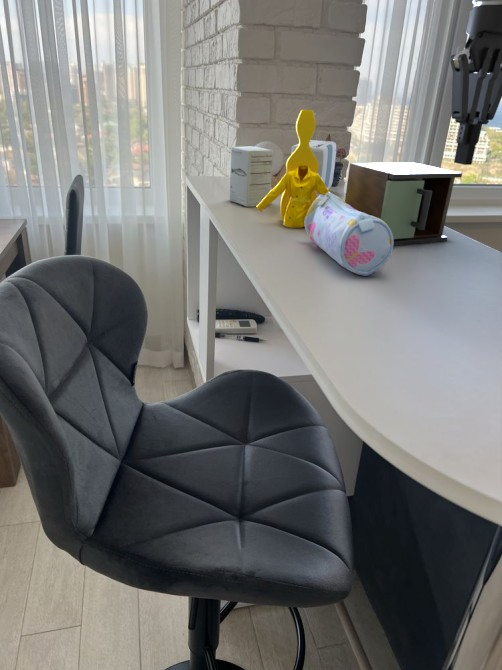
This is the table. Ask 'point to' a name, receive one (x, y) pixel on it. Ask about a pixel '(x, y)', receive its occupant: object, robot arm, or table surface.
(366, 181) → the cabinet
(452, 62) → the robot arm
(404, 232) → the sliding door
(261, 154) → the white packaging box
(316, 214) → the pencil case
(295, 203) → the figure statuette
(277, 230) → the table surface
